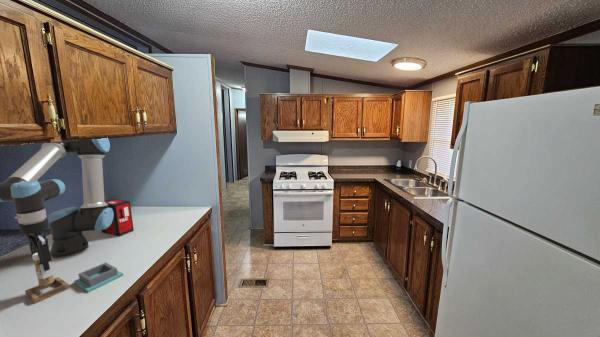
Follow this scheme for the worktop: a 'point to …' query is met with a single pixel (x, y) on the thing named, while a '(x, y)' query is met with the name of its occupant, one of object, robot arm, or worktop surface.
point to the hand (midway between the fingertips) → (45, 274)
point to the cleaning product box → (119, 218)
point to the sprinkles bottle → (39, 275)
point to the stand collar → (36, 299)
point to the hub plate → (97, 277)
